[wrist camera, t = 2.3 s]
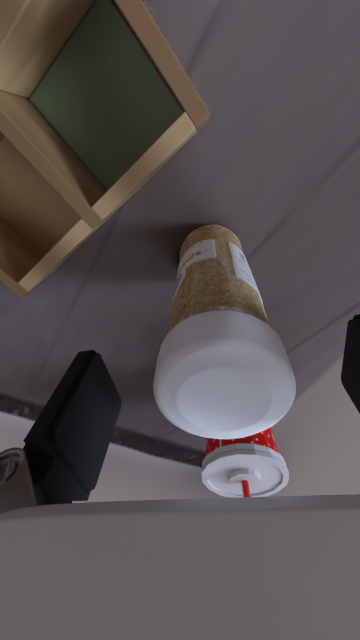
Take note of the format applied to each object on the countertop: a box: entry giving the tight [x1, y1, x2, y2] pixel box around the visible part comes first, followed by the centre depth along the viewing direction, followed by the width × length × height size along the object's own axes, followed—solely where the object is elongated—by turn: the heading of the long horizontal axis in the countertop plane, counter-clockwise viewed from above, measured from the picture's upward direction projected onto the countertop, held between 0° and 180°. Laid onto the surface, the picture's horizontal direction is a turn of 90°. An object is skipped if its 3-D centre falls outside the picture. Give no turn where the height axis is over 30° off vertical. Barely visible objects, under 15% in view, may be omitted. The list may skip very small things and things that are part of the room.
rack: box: [0, 0, 210, 298], centre depth 14 cm, size 15×15×5 cm
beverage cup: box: [202, 427, 289, 498], centre depth 21 cm, size 6×6×14 cm
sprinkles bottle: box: [153, 224, 296, 439], centre depth 14 cm, size 5×5×14 cm
